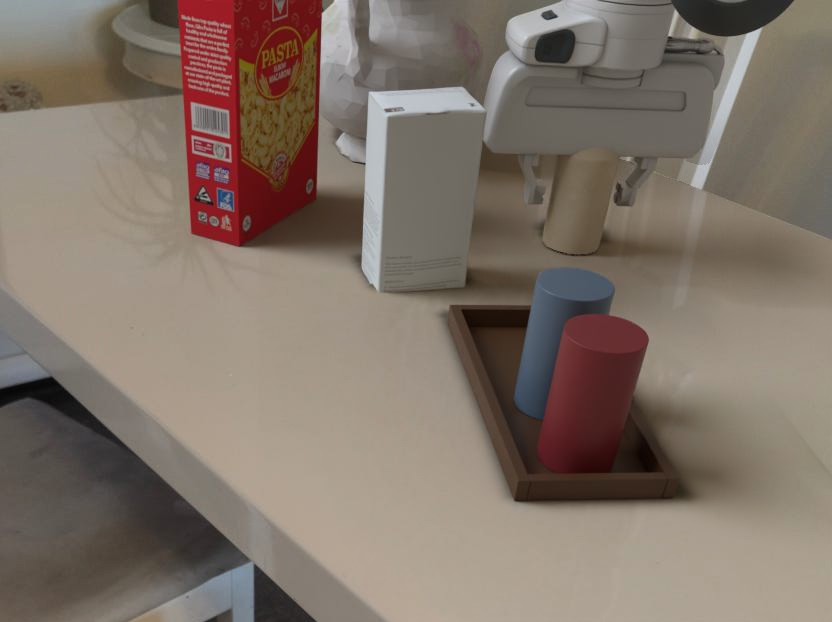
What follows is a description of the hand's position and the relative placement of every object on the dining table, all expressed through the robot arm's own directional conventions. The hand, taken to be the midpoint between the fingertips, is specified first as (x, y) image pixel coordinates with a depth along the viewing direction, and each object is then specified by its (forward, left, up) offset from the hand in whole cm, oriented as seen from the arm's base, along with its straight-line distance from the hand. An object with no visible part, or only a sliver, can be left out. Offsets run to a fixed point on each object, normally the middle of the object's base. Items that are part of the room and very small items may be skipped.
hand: (577, 203), depth 91 cm
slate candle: (+10, +31, -3) cm, 32 cm away
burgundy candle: (+10, +38, -3) cm, 39 cm away
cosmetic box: (+17, +9, -4) cm, 20 cm away
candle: (0, 0, -4) cm, 4 cm away
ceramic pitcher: (+15, -25, -4) cm, 29 cm away
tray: (+10, +30, -4) cm, 32 cm away
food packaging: (+30, -6, -4) cm, 31 cm away
